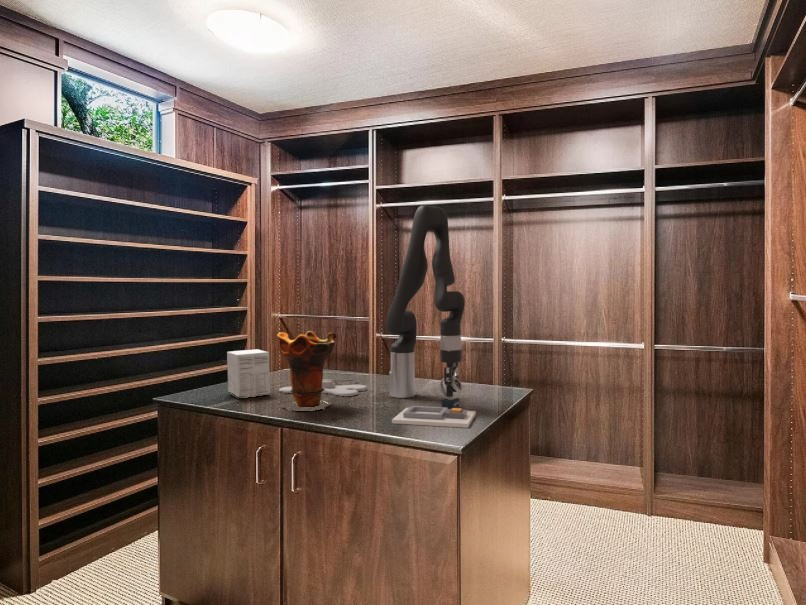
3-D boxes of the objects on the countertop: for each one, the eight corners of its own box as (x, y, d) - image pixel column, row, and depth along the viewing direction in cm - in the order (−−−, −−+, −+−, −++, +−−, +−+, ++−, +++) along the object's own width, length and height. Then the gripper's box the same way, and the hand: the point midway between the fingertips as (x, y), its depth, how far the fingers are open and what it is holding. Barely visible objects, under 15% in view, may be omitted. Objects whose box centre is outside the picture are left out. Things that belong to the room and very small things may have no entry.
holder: (352, 398, 217) (352, 386, 216) (274, 394, 227) (274, 382, 227) (370, 389, 235) (369, 377, 235) (297, 386, 245) (296, 374, 245)
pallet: (392, 423, 176) (391, 414, 176) (406, 411, 193) (406, 403, 193) (467, 427, 170) (467, 418, 170) (475, 414, 186) (475, 406, 186)
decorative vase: (348, 399, 211) (345, 326, 208) (319, 417, 189) (315, 335, 187) (300, 396, 218) (296, 325, 215) (266, 413, 196) (261, 334, 194)
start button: (450, 416, 178) (450, 410, 178) (452, 414, 181) (452, 407, 181) (460, 416, 178) (460, 410, 178) (461, 414, 180) (461, 408, 180)
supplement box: (270, 395, 223) (269, 351, 222) (237, 400, 215) (236, 354, 214) (259, 390, 234) (258, 348, 233) (227, 394, 226) (226, 351, 225)
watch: (458, 410, 193) (457, 378, 192) (437, 408, 197) (436, 377, 196) (464, 407, 198) (464, 376, 197) (443, 405, 202) (443, 374, 201)
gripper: (444, 346, 204) (445, 390, 205) (436, 350, 191) (437, 397, 191) (464, 346, 202) (465, 390, 203) (458, 350, 189) (459, 398, 189)
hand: (452, 394), depth 197 cm, fingers open, 8 cm apart
